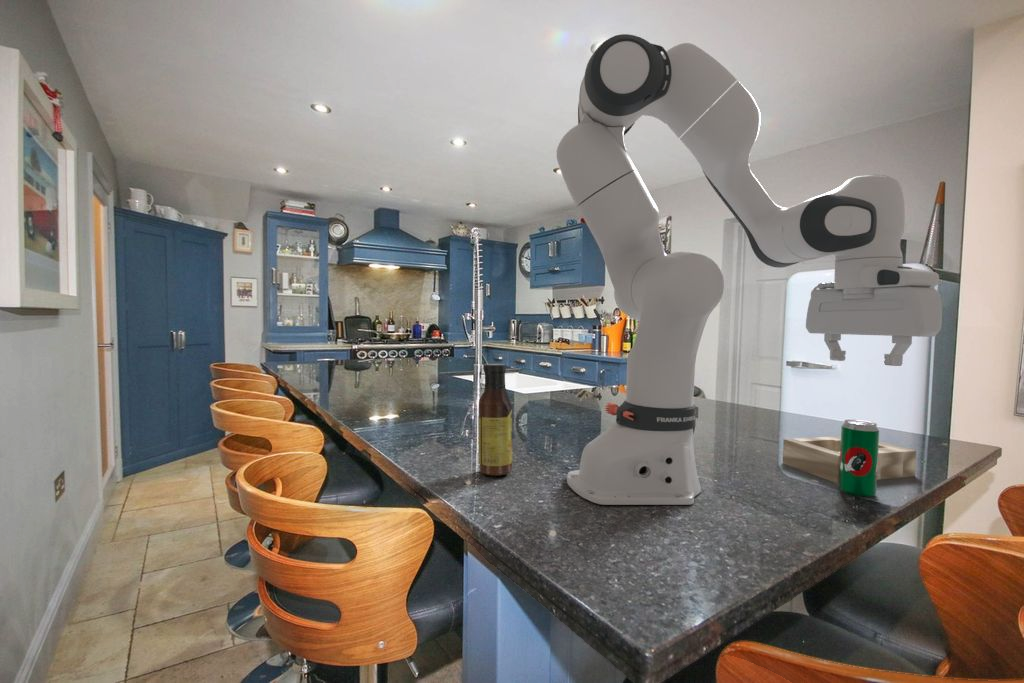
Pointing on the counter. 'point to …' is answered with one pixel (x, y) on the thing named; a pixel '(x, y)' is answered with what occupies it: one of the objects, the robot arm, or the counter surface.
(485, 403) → the sauce bottle
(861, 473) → the soda can
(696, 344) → the robot arm
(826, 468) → the keyhole board
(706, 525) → the counter surface
